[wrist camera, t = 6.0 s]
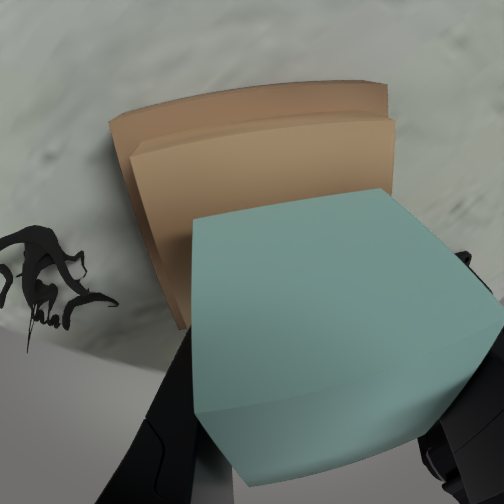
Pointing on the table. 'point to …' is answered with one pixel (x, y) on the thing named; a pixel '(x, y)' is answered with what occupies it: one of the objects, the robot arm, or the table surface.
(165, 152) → the plinth
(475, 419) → the robot arm
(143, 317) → the table surface
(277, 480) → the teal block
